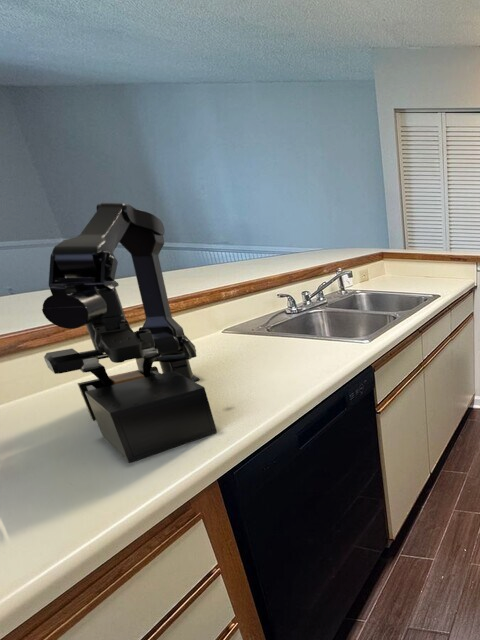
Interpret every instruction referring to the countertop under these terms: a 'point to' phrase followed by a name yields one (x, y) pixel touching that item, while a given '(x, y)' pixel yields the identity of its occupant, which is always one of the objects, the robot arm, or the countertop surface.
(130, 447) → the black slanted wedge box
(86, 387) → the rack
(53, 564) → the countertop surface
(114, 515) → the countertop surface
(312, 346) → the countertop surface
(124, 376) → the block
